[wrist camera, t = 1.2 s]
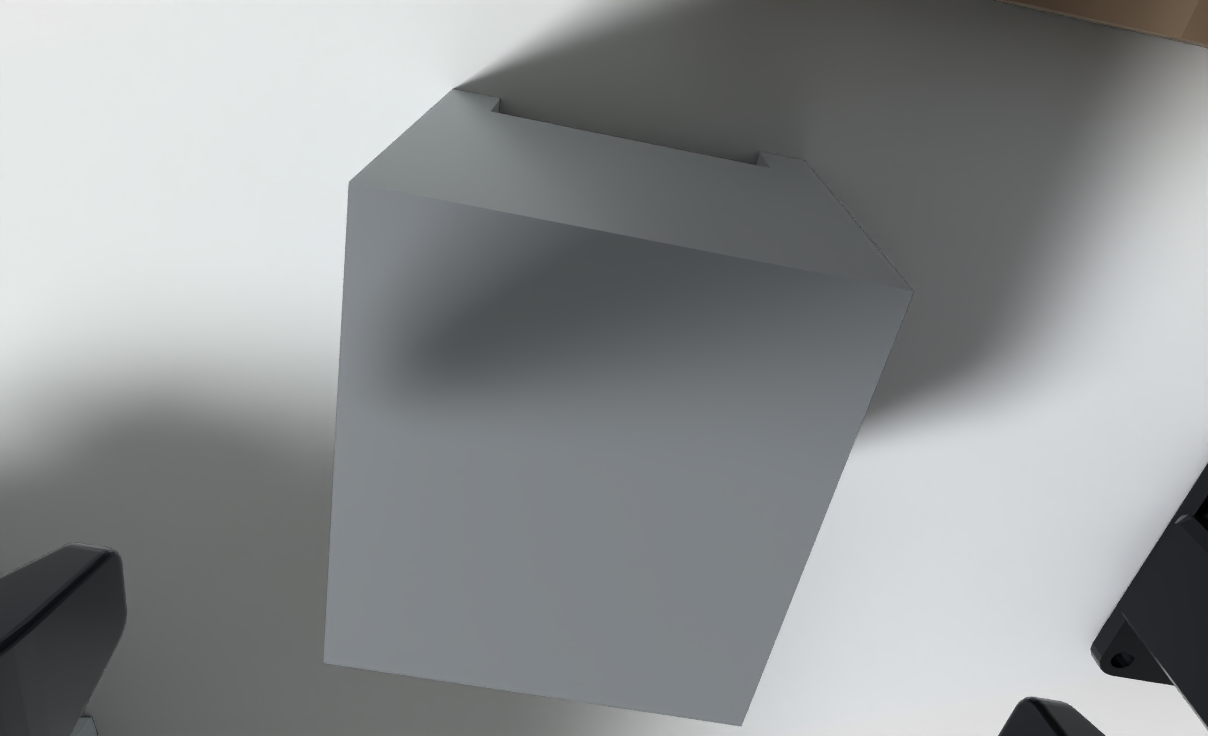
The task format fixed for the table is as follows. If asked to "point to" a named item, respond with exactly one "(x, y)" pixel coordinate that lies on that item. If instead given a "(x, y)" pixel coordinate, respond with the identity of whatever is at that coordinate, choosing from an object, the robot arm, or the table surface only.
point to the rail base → (1136, 16)
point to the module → (590, 409)
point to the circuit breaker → (85, 727)
